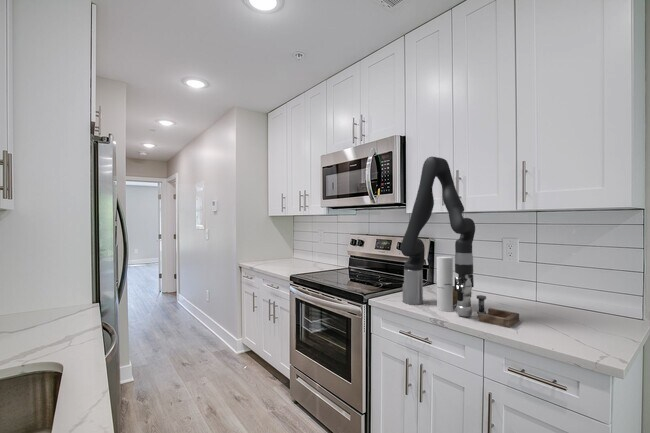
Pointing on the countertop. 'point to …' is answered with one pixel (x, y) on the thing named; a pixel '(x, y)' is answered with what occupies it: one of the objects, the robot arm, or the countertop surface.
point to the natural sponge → (454, 297)
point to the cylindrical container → (445, 283)
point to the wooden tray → (499, 317)
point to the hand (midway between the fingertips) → (464, 299)
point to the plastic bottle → (465, 300)
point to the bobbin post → (481, 304)
